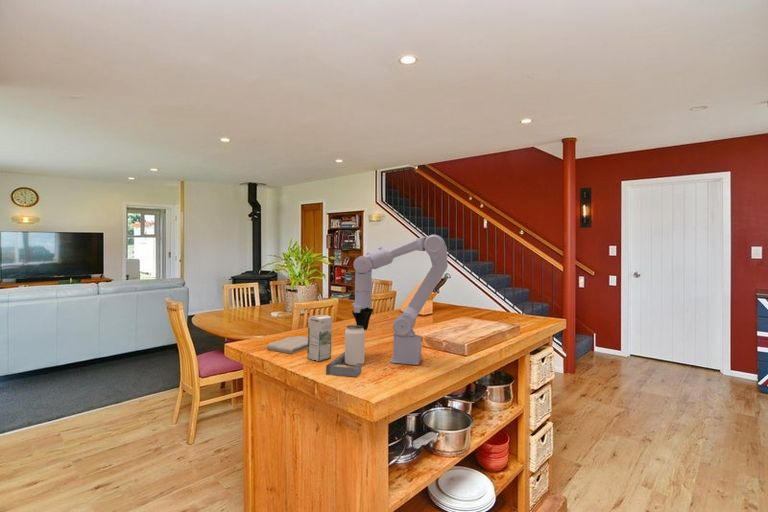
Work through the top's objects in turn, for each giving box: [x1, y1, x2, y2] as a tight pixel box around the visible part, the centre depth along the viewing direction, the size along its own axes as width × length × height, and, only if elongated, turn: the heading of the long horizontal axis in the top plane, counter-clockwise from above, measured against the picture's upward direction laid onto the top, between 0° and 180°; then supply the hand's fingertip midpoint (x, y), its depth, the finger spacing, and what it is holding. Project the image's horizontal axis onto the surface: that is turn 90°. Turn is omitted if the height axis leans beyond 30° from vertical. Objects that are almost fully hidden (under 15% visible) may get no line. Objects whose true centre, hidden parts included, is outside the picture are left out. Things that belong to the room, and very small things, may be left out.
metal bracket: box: [325, 351, 363, 378], centre depth 125 cm, size 9×20×3 cm, turn 166°
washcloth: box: [266, 335, 308, 355], centre depth 148 cm, size 12×18×3 cm, turn 153°
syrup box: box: [306, 314, 333, 362], centre depth 133 cm, size 6×6×14 cm
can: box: [344, 324, 366, 367], centre depth 128 cm, size 6×6×12 cm
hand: (362, 330), depth 135 cm, fingers open, 3 cm apart
